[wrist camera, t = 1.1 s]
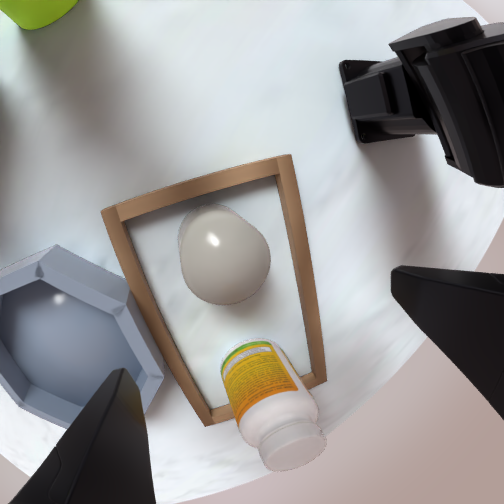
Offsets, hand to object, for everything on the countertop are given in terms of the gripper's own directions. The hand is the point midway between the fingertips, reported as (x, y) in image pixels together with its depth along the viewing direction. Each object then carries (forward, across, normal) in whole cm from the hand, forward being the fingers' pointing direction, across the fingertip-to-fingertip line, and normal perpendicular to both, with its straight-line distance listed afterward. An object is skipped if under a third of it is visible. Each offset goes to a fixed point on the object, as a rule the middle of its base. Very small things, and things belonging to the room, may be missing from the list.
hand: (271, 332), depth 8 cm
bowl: (+11, +13, +4) cm, 18 cm away
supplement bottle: (+11, 0, +11) cm, 16 cm away
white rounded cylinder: (+11, 0, 0) cm, 11 cm away
